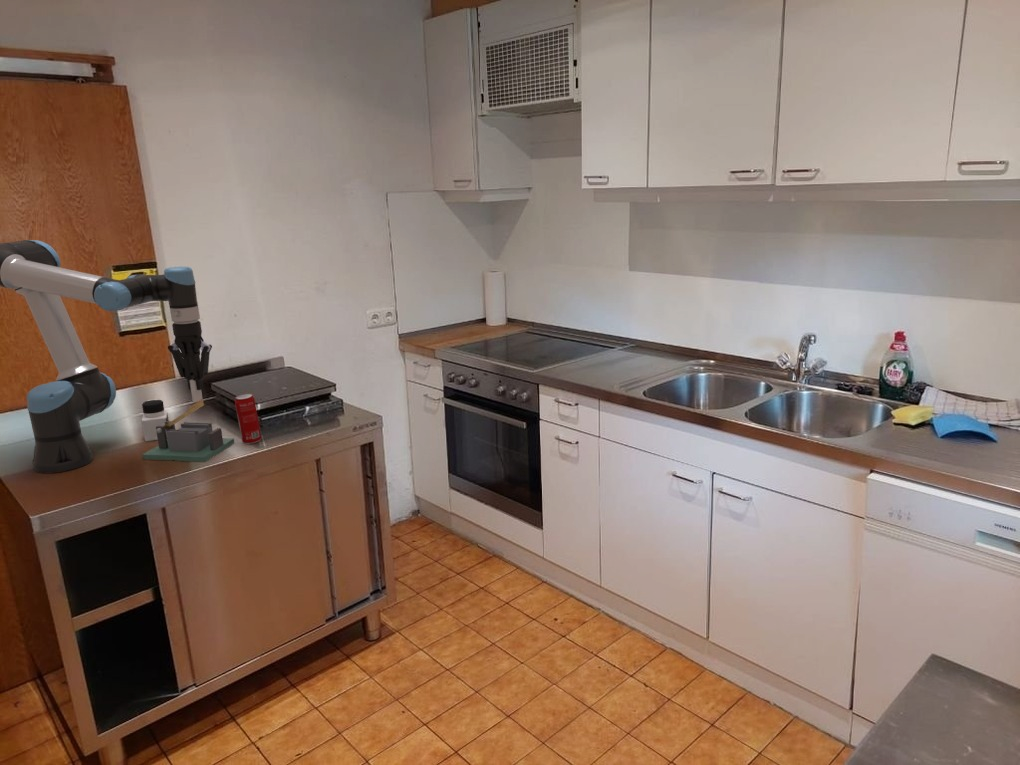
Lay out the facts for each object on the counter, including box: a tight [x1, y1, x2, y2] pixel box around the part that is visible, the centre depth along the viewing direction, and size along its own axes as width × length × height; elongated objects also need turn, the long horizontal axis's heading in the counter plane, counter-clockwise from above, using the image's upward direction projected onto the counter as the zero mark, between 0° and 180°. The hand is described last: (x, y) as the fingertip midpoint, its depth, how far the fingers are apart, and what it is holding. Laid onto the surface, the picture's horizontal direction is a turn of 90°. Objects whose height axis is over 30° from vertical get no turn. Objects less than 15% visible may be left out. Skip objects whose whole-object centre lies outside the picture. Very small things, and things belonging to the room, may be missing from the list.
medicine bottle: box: [141, 398, 170, 442], centre depth 237 cm, size 7×7×12 cm
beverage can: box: [234, 393, 262, 445], centre depth 229 cm, size 6×6×15 cm
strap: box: [165, 399, 205, 429], centre depth 222 cm, size 16×4×2 cm, turn 79°
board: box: [142, 420, 235, 463], centre depth 223 cm, size 20×16×8 cm
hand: (197, 400), depth 219 cm, fingers closed
